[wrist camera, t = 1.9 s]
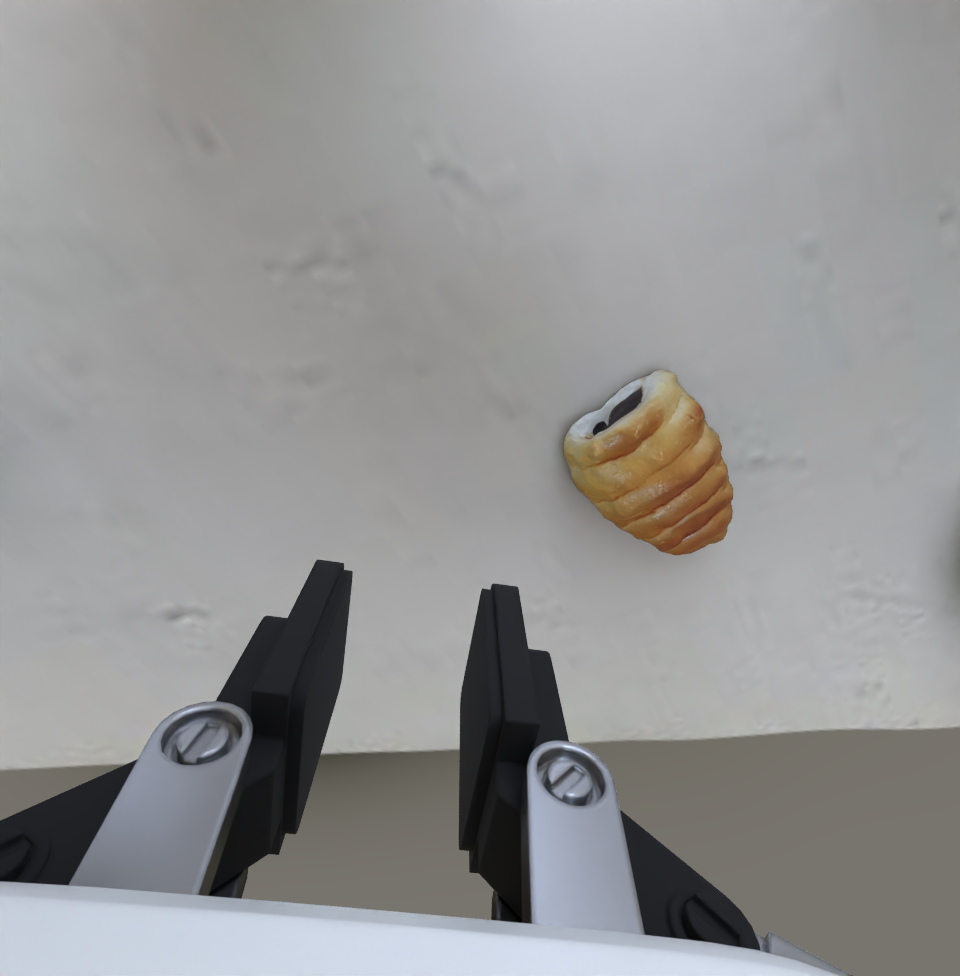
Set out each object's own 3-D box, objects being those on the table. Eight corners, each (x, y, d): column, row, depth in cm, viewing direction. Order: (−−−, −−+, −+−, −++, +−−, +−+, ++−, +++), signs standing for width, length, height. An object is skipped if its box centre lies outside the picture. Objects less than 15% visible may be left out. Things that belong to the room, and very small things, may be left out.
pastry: (753, 494, 30) (791, 526, 26) (645, 567, 31) (667, 606, 28) (656, 353, 27) (683, 368, 24) (542, 440, 29) (552, 466, 25)
